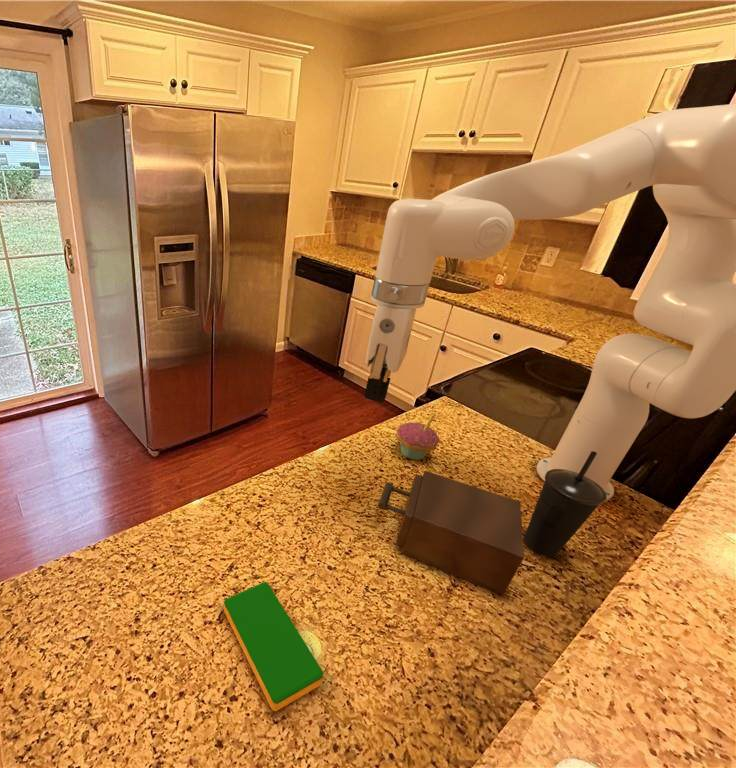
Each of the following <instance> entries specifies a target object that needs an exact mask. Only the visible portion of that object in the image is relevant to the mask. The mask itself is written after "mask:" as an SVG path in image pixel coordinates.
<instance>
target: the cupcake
mask: <svg viewBox="0 0 736 768" xmlns="http://www.w3.org/2000/svg"><path fill="white" fill-rule="evenodd" d="M436 414H437V411H434V413H432V414H431V415H430V416H429V419H428V420H427V422H426V423H424V424H423V423H420V422H415V421H414V422H410V421H409V422H406V423H403V424H401V425H399V427H397V429H396V434H395V438H396V440H397V442H399V443H400V451H401V454H402V455H403V456H405V457H406V458H408V459H411V460H417V461H418V460H422V459H424V458H425V457H426V456H427V454H428V453H430V452H431V451H435V450H436V448H437V447H438V445H439V444H440V441H441V439H440V438H439V436H438V435H437V432H436V431H435V430H434V429H433V428H432V427H431V424H432V422H433V420H434V419H435V417H436Z"/></svg>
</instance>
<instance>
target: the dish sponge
mask: <svg viewBox="0 0 736 768" xmlns="http://www.w3.org/2000/svg"><path fill="white" fill-rule="evenodd" d="M223 612H224V613H223V614H224V615H225V617H226V619H227V621H228V623H229V625H230V627H231V629H232V631H233V633H234V635H235V638H236V640H237V642H238V643H239V646H240V648H241V650H242V652H243V654H244V656H245V657H246V660H247V661H248V665H249V666H250V668H251V671H252V672H253V674H254V676H255V679H256V681H257V682H258V684H259V686H260V688H261V691H262V693H263V695H264V697H265V699H266V701H267V703H268V705H269V707H270V709H271V710H272V711H273V712H278V711H280V710H281V709H282V708H284V707H286V706H289V704H291V703H293V702H295V701H296V700H298V699H300V698H301V697H303V696H305V695H307V694H308V693H310V692H312V691H313V690H316V689H317V688H318V687H320V686H321V684H322V681H323V677H324V676H323V675H324V671H323V670H322V668H321V666H320V665H319V663H318V661H317V660H316V658H315V657H314V655H313V654H312V652H311V650H310V649H309V647H308V645H307V644H306V642H305V640H304V639H303V637H302V636H301V634H300V632H299V631H298V628H297V627H296V626H295V624H294V622H293V621H292V619H291V618H290V616H289V615H288V613H287V612H286V610H285V608H284V607H283V605H282V604H281V602H280V600H279V598H278V597H277V595H276V594H275V592H274V591H273V589H272V587H271V586H270V584H269V583H268V582H266V581H263V582H261V583H259V584H257V585H254V586H252V587H250V588H247V589H245V590H243V591H241V592H239V593H236V594H234V595H231V596H228V597H227V598H225V599H224V601H223Z"/></svg>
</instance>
